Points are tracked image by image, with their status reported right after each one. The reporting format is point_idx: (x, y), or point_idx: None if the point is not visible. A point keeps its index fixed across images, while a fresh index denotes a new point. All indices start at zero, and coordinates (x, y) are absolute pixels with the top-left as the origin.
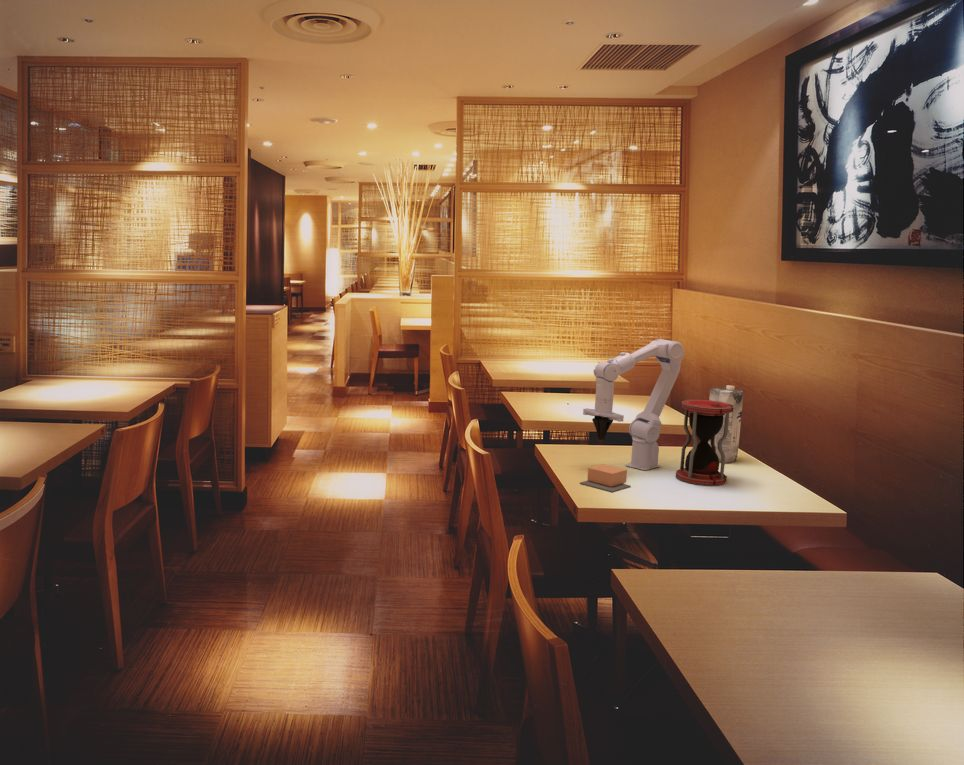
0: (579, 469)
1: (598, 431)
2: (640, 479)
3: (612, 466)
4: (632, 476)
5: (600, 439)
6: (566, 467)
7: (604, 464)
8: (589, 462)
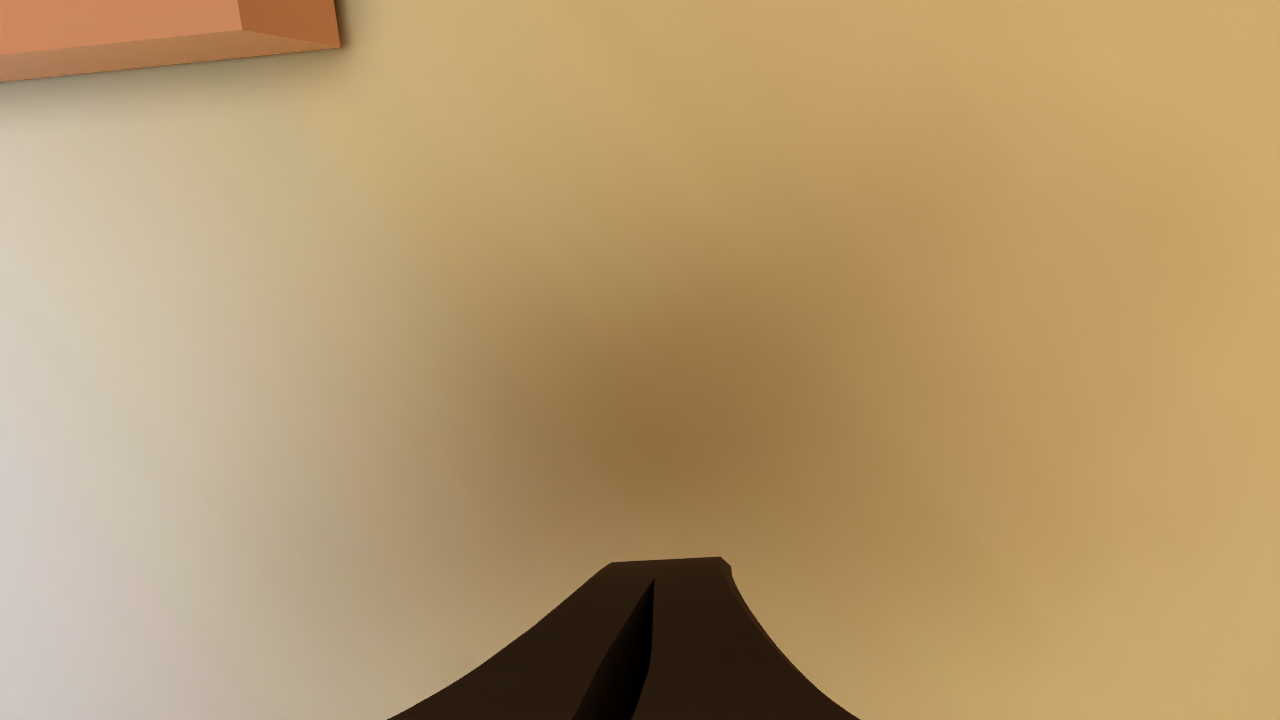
0: (942, 172)
1: (664, 640)
2: (64, 503)
3: (18, 36)
4: (225, 540)
5: (624, 563)
6: (1175, 75)
7: (201, 20)
8: (1131, 667)
